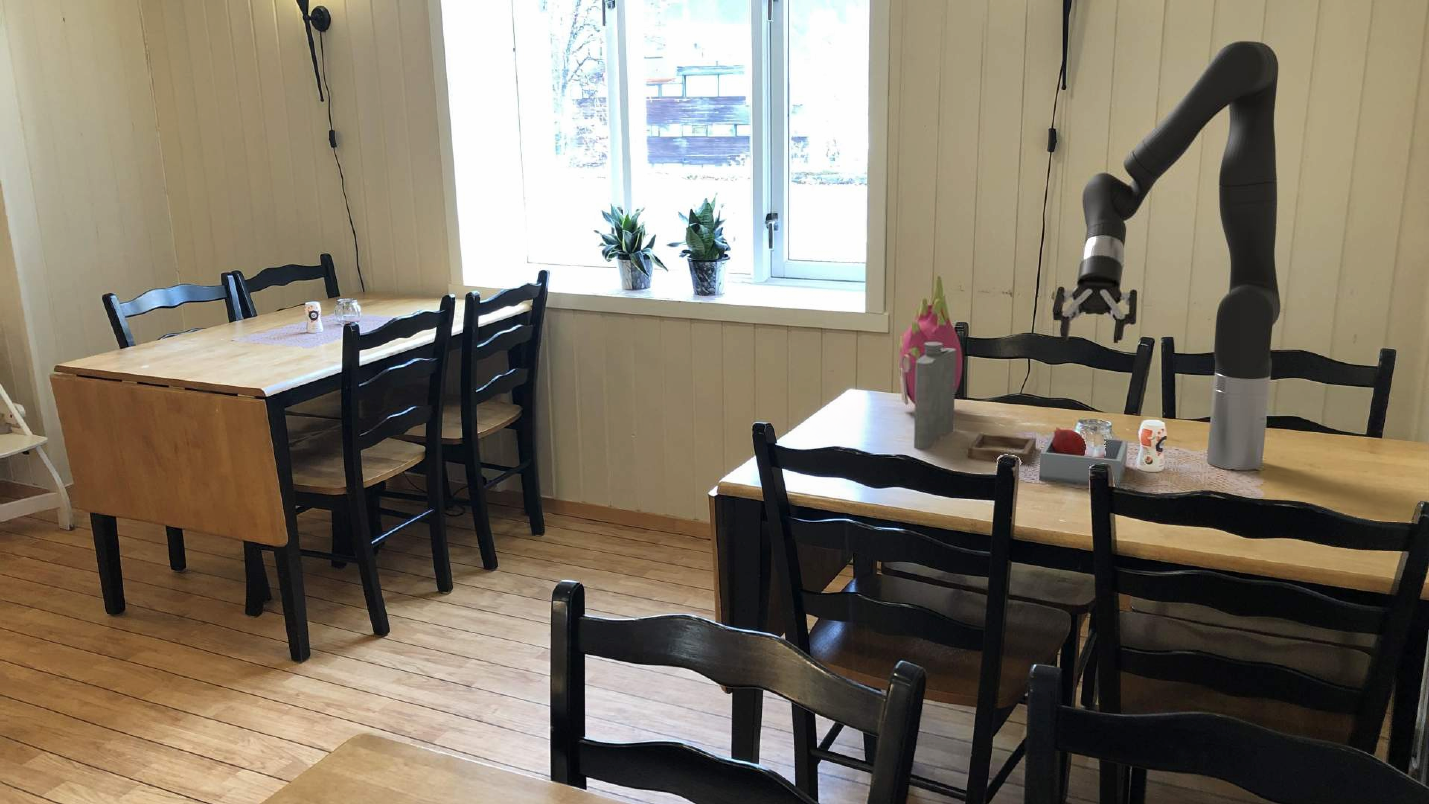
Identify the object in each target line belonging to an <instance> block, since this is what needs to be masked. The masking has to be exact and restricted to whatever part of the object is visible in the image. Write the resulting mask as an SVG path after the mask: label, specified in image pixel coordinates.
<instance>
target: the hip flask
mask: <svg viewBox="0 0 1429 804" xmlns="http://www.w3.org/2000/svg"><path fill="white" fill-rule="evenodd" d="M924 348H926V349H925V353H926V355H924V356H922V357H921V358H919V359H918V360H917V361H916V378H915V404H914V425H913V426H914V431H913V434H914V435H913V448H914V449H916V450H922V449H924V450H929V449H931V447H932V445H934V444H935V443H936V442H937V441H939V440H940V439H942V438H944V437H945V435H946V436H947V434H948V435H950V434H953V433H954V430H955V429H954V426H955V425H954V423H955V422H954V421H955V394H956V393H955V365H956V349H953V348H943V344H942V343H939V342H927V343H924ZM941 348H942V349H941ZM952 432H953V433H952ZM941 437H942V438H941Z"/></svg>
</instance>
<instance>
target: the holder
mask: <svg viewBox="0 0 1429 804" xmlns="http://www.w3.org/2000/svg"><path fill="white" fill-rule="evenodd" d="M1036 441H1037V438H1036V437H1035V438H1034V437H1025V436H1016V435H1014V436H1013V435H1006V434H1005V435H1003V434H993V433H983V432H982V433H981V432H979V433H978V435H977V436H976V437H975V438H974V440H973V441H972V442H971V444H970V445H969V446H967V459H972V460H973V459H975V460H980V461H981V460H984V461H991V462H992V461H993V462H997V461H996V460H997V458H998V457H999V456H1000V455H1004V454H1008V455H1015V456H1017V457H1019V458H1020V460H1021V462H1022V464H1021V465H1027V463H1028V461H1029V460H1030V458H1031V456H1032V455H1033V453H1034V451H1035V450H1036V446H1037V445H1036V443H1037V442H1036ZM984 445H985V446H987V445H988V446H994V447H995V446H996V447H1005V448H1014V449H1015V448H1017V449H1022V451H1015V450H1014V451H1013V450H1005V449H996V448H995V449H994V448H985V447H983V446H984Z"/></svg>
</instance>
